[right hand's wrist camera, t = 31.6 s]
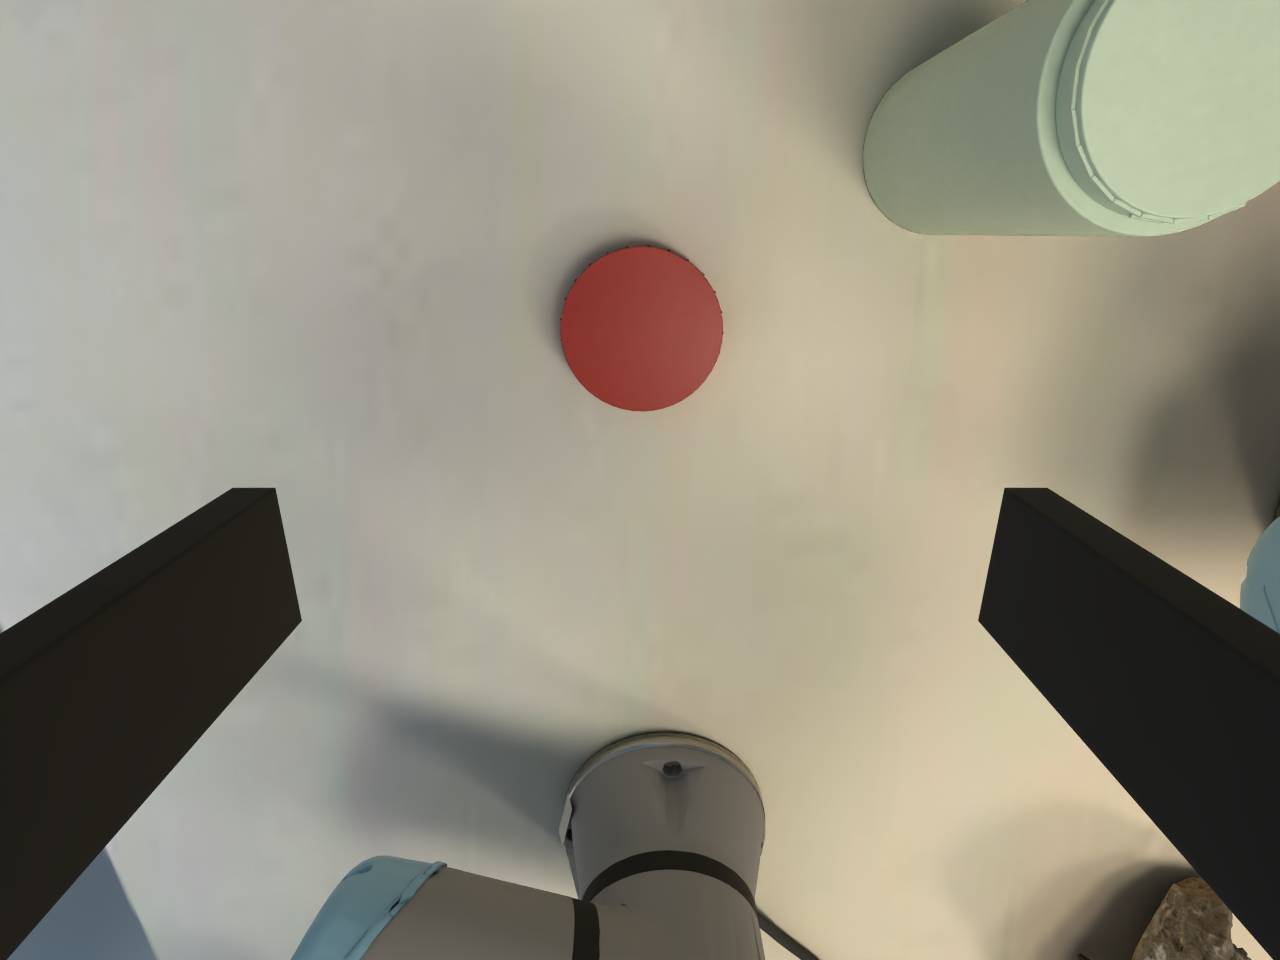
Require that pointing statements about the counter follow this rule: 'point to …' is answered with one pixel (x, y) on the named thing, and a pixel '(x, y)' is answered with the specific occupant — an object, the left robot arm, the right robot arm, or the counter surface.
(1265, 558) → the left robot arm
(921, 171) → the jar
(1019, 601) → the right robot arm
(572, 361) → the lid
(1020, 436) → the counter surface
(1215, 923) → the fossil
